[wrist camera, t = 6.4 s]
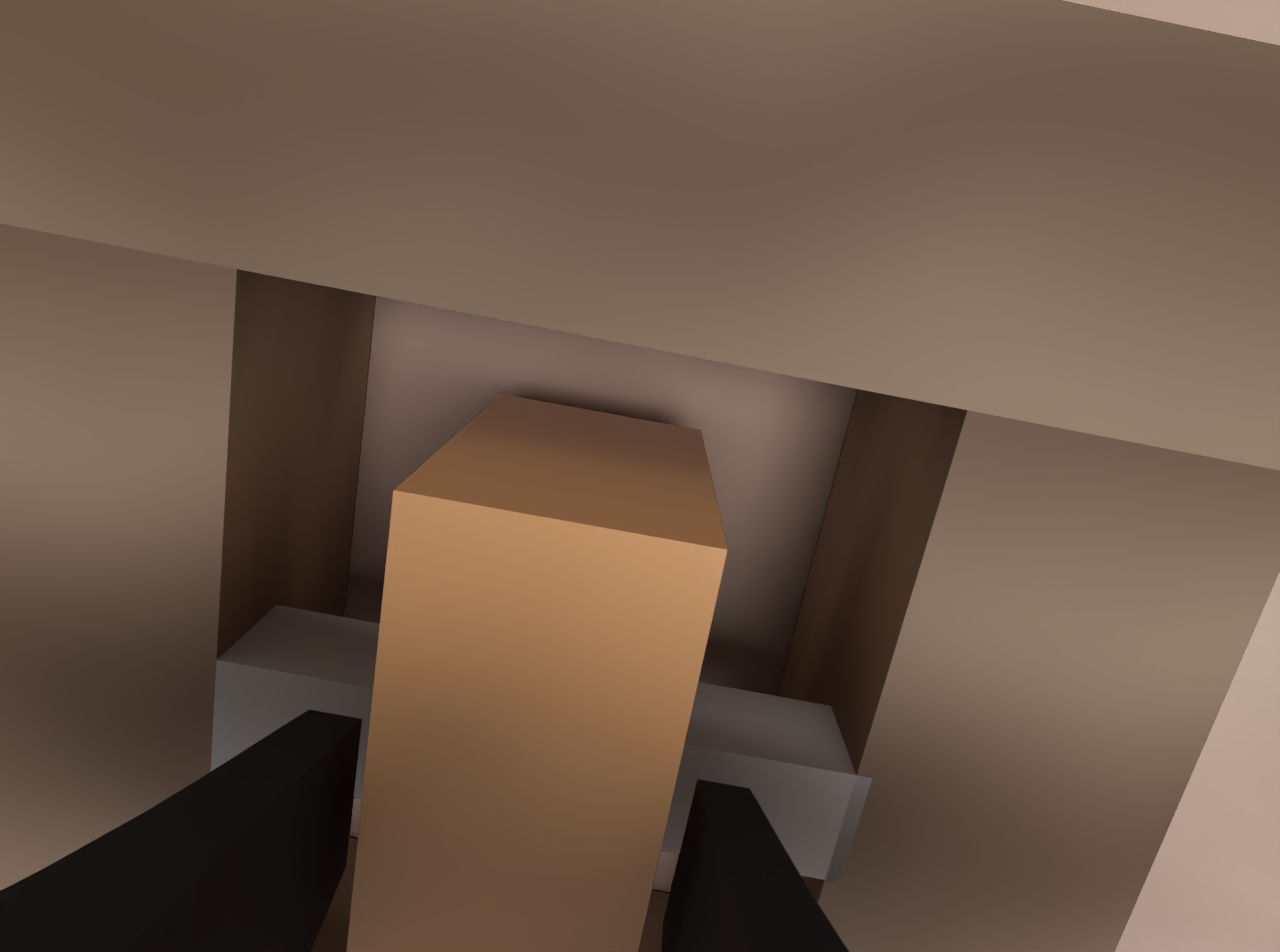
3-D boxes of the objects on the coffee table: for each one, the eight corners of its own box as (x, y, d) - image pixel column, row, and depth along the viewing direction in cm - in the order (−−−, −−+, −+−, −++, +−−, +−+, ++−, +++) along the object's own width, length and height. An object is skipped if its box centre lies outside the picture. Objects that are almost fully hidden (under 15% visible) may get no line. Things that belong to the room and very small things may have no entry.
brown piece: (866, 1085, 17) (934, 1365, 13) (115, 958, 17) (-73, 1203, 13) (1195, 146, 12) (1488, 88, 8) (133, -70, 12) (-173, -256, 7)
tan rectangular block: (610, 870, 14) (585, 1190, 9) (440, 842, 14) (326, 1148, 9) (700, 430, 12) (727, 549, 7) (501, 393, 12) (392, 490, 7)
